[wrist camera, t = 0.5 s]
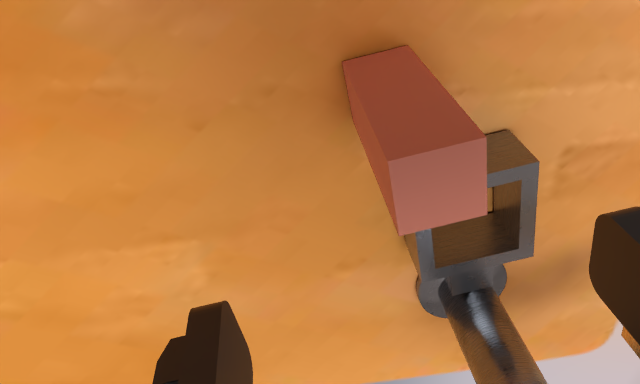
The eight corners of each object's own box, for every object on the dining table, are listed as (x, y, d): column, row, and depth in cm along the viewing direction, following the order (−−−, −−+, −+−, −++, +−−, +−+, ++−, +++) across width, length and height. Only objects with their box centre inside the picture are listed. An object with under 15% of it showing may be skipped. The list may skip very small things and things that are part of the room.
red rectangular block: (341, 61, 27) (387, 161, 18) (407, 45, 27) (486, 137, 18) (353, 120, 29) (399, 236, 20) (414, 105, 29) (487, 214, 20)
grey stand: (393, 158, 31) (551, 486, 15) (603, 106, 31) (1002, 383, 15) (416, 319, 41) (529, 630, 24) (578, 281, 40) (803, 570, 24)
